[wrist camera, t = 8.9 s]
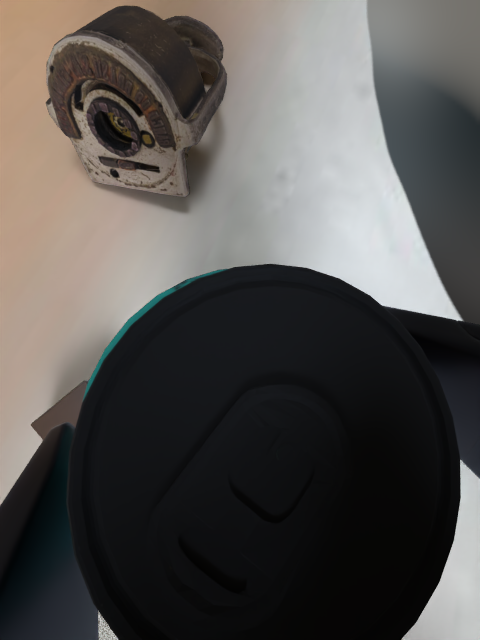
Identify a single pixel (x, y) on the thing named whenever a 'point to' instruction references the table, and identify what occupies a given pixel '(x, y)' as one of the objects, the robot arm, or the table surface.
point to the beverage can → (263, 465)
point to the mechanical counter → (136, 96)
